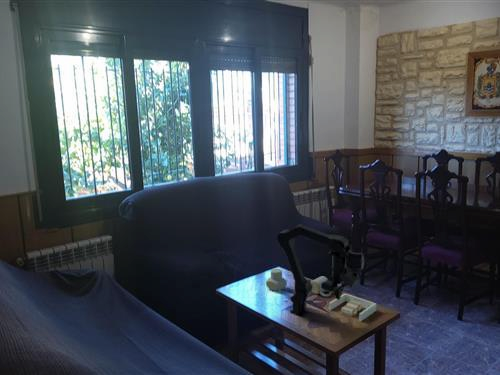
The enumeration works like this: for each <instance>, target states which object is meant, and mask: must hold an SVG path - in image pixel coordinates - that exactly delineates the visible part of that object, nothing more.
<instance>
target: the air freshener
mask: <svg viewBox="0 0 500 375" xmlns="http://www.w3.org/2000/svg"><path fill="white" fill-rule="evenodd" d="M265 285H266V287H267V288H268V289H269V290H271V291H273V292H278V291H279V292H280V291H282V290H284V289H285V288H286V287H287V286H288V281H287V280H286V279H285V278H284V277H283V270H282V269H280V268H273V269H271V270H270V277H268V278H267V279H266V281H265Z"/></svg>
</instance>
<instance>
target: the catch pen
mask: <svg viewBox="0 0 500 375" xmlns="http://www.w3.org/2000/svg"><path fill="white" fill-rule="evenodd" d="M350 301H355V302H358V303H361V308H364V310H362V311H361V312H359V314H358V315H359V316H358V322H362V321H364V320H365V319H366V318H368V317H369V316H371V315H373V313H375V312H376V311H377V303H376V302H372V301H369V300H366V299H363V298H360V297H357V296H354V295H351V294H348V293H344V294H343V293H342V294H341V297H340V299H339V300H338V299H336V298H335V299H333V300H331V301H330V302H328V310H329V311H332V310H333V309H335V308H337V307H338V306H340V305H341V304H343V303H344V302H347V303H349V302H350Z"/></svg>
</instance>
